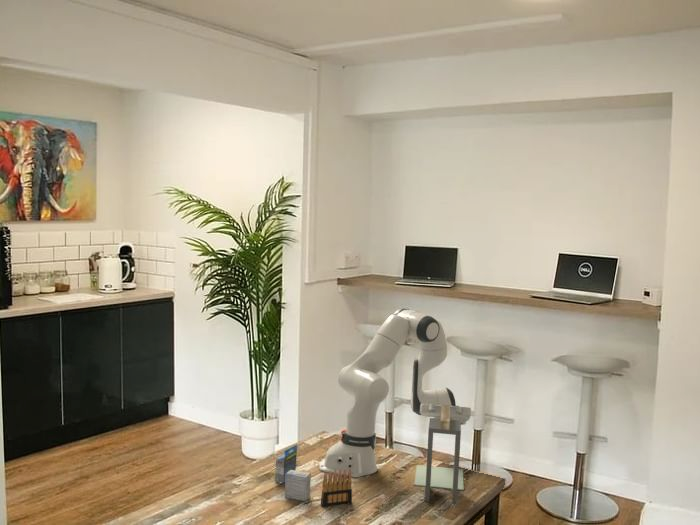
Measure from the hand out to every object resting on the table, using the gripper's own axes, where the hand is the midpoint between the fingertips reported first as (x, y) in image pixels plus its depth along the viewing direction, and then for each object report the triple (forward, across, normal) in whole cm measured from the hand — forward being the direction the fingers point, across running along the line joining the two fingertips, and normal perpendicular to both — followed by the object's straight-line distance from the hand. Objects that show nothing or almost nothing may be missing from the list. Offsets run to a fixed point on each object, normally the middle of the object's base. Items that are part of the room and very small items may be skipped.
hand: (445, 406), depth 268 cm
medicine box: (+24, -49, +42) cm, 69 cm away
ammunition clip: (+26, -35, +43) cm, 61 cm away
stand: (+12, 0, +35) cm, 37 cm away
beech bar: (+21, 0, +11) cm, 24 cm away
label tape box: (+11, -57, +35) cm, 68 cm away
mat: (-3, -1, +27) cm, 27 cm away
